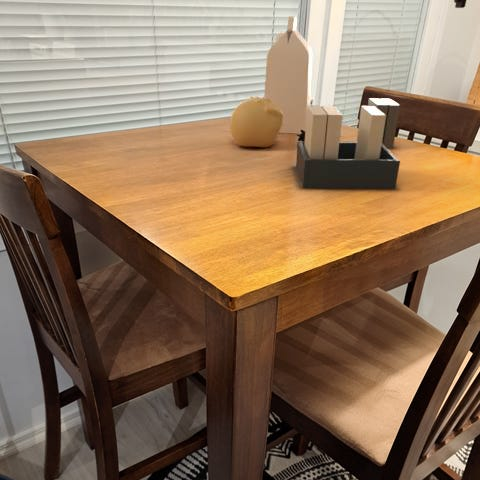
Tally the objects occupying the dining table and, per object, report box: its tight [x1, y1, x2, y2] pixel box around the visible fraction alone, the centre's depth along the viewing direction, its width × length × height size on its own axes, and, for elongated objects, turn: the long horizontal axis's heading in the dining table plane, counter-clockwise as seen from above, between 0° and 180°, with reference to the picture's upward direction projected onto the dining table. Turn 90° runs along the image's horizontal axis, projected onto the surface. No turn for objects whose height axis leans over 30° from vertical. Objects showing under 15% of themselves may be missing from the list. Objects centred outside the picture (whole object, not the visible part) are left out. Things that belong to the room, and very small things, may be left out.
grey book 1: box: [367, 97, 388, 143], centre depth 116 cm, size 2×9×10 cm, turn 0°
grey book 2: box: [379, 97, 401, 149], centre depth 116 cm, size 2×9×10 cm, turn 0°
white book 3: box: [355, 105, 386, 160], centre depth 91 cm, size 2×9×12 cm, turn 0°
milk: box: [263, 16, 313, 135], centre depth 128 cm, size 12×12×26 cm
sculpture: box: [229, 96, 283, 148], centre depth 116 cm, size 12×12×11 cm
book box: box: [295, 141, 401, 190], centre depth 93 cm, size 17×14×6 cm
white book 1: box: [304, 105, 327, 159], centre depth 91 cm, size 2×9×12 cm, turn 0°
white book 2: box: [320, 105, 343, 159], centre depth 91 cm, size 2×9×12 cm, turn 0°
